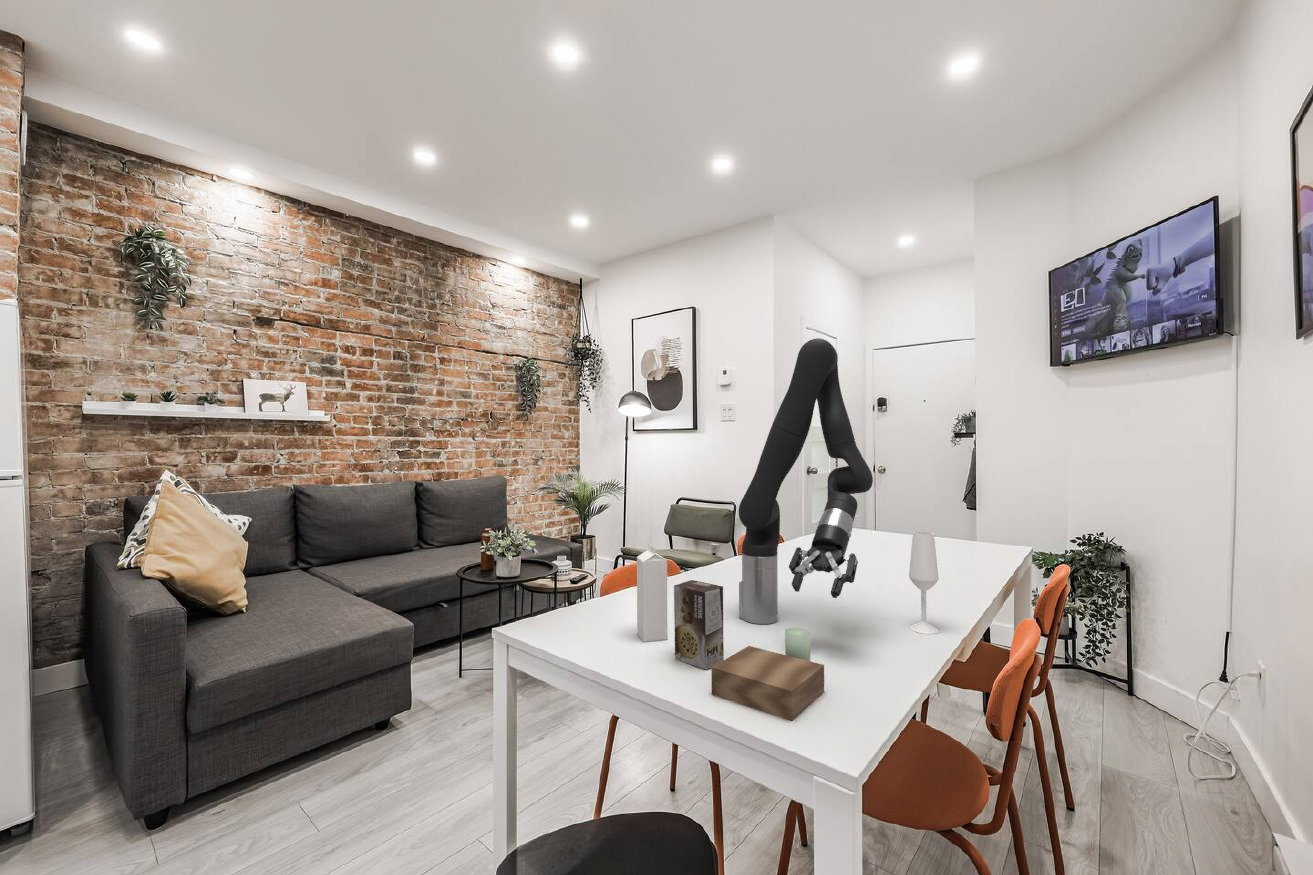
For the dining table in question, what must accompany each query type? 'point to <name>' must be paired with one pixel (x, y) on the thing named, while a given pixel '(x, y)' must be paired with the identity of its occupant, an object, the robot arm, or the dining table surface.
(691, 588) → the coffee box
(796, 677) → the walnut base
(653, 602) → the milk
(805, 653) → the sage cylinder
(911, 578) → the champagne flute
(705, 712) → the dining table surface
